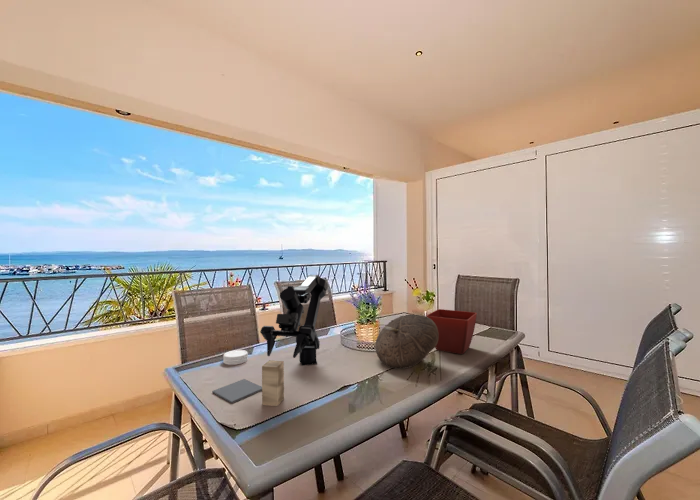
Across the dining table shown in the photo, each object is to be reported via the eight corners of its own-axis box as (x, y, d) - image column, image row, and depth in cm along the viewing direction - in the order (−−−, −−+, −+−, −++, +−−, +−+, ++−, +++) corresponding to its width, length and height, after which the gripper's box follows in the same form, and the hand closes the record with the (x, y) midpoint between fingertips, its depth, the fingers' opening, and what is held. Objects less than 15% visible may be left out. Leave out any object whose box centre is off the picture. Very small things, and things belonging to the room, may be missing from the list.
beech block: (269, 397, 98) (269, 360, 98) (283, 398, 97) (283, 361, 97) (262, 404, 93) (262, 366, 93) (277, 406, 92) (277, 367, 92)
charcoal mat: (244, 380, 111) (244, 378, 111) (264, 389, 103) (264, 387, 103) (212, 392, 101) (212, 390, 101) (231, 403, 94) (231, 401, 94)
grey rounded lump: (357, 362, 129) (366, 307, 139) (398, 373, 139) (404, 320, 149) (399, 365, 106) (406, 298, 117) (445, 377, 116) (448, 314, 126)
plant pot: (425, 350, 142) (425, 315, 142) (439, 340, 158) (438, 308, 158) (468, 358, 131) (467, 320, 131) (477, 346, 147) (477, 312, 147)
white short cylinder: (239, 366, 125) (239, 357, 125) (218, 364, 127) (218, 356, 127) (252, 357, 135) (252, 350, 135) (232, 356, 137) (232, 348, 137)
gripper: (262, 303, 108) (246, 343, 97) (312, 304, 104) (301, 346, 93) (272, 320, 116) (258, 359, 105) (318, 322, 112) (309, 362, 101)
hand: (280, 356), depth 101 cm, fingers open, 9 cm apart
